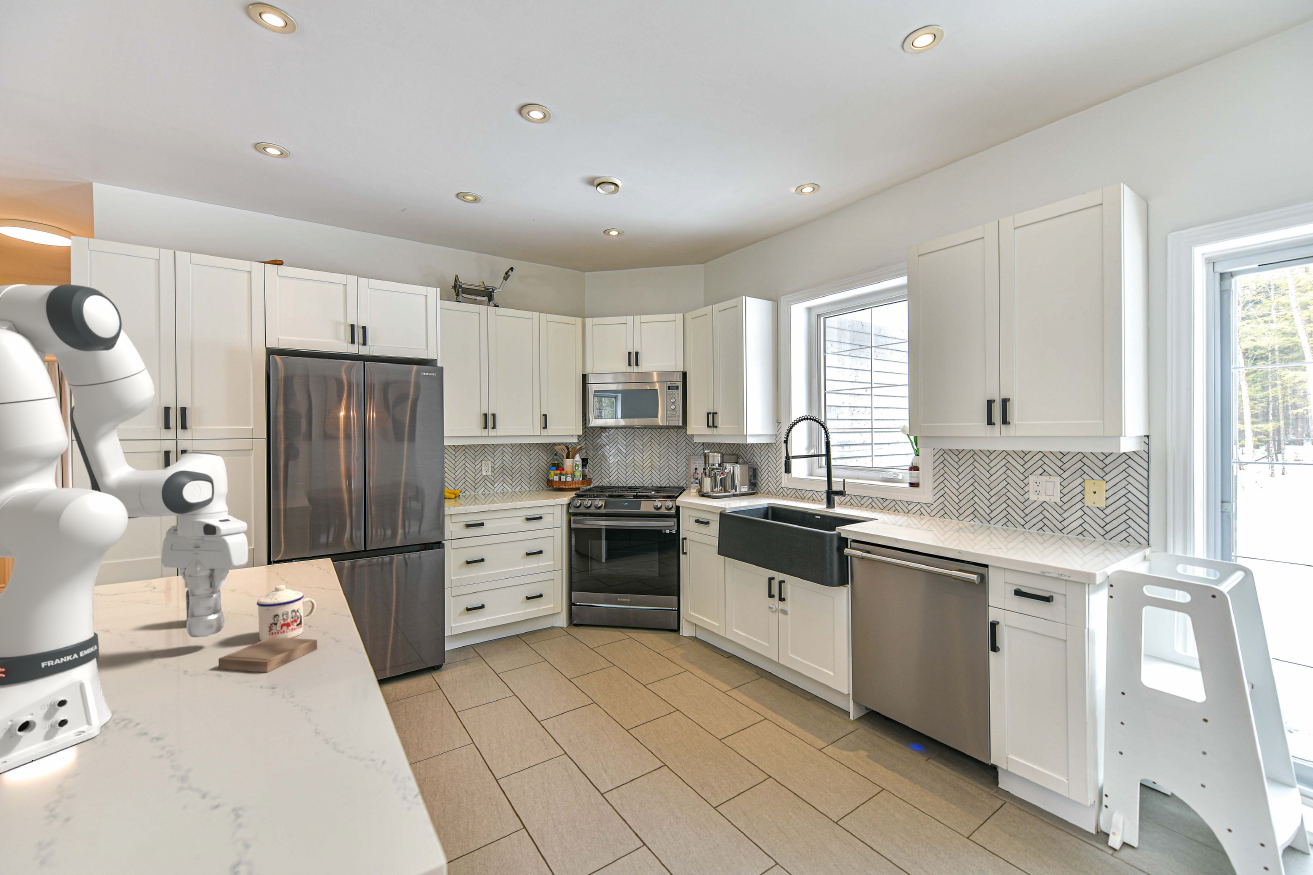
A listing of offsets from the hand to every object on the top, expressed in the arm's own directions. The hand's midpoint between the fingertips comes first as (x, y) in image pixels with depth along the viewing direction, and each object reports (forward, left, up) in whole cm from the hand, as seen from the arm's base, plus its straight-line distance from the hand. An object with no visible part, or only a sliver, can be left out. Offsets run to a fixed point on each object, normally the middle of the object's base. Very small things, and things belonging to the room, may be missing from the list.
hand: (204, 588), depth 124 cm
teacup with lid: (+11, -11, -14) cm, 20 cm away
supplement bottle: (+14, +19, -14) cm, 28 cm away
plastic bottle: (0, 0, -11) cm, 11 cm away
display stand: (-3, -20, -13) cm, 24 cm away
